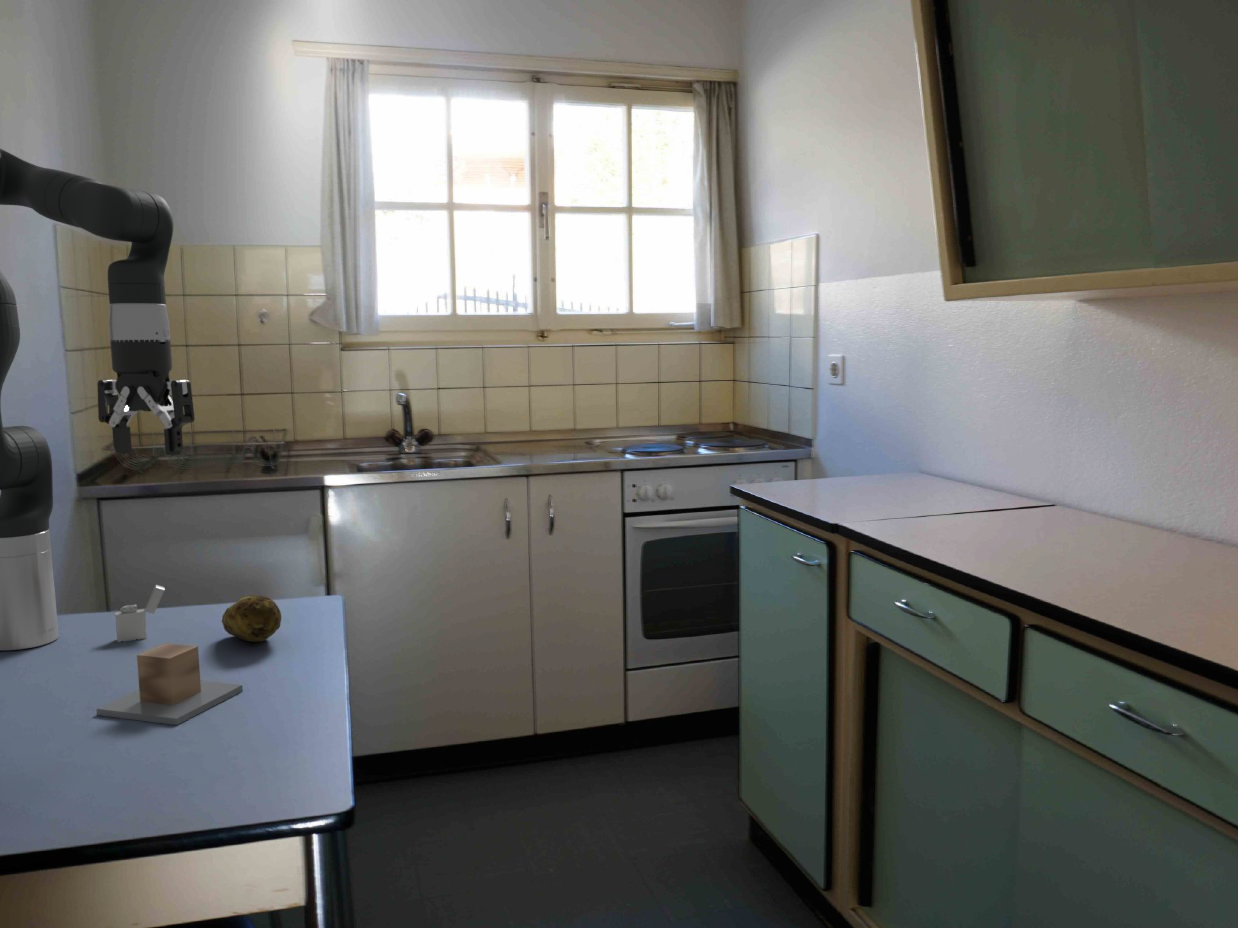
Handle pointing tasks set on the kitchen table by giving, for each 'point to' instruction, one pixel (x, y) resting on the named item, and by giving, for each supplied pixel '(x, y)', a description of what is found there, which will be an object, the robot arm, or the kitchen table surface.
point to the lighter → (136, 618)
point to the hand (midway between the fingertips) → (148, 454)
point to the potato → (252, 618)
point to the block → (168, 673)
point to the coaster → (170, 713)
